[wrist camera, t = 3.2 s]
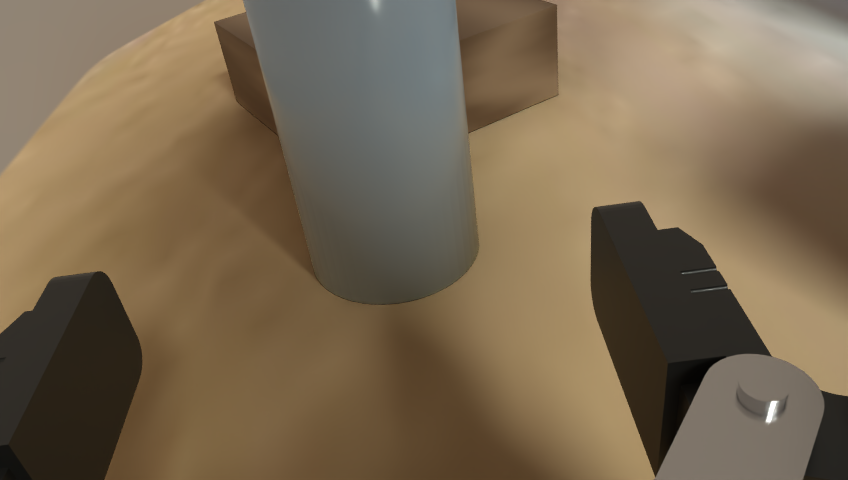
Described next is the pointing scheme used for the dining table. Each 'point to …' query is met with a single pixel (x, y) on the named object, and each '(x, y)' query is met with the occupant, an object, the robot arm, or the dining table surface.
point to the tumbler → (373, 140)
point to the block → (480, 56)
